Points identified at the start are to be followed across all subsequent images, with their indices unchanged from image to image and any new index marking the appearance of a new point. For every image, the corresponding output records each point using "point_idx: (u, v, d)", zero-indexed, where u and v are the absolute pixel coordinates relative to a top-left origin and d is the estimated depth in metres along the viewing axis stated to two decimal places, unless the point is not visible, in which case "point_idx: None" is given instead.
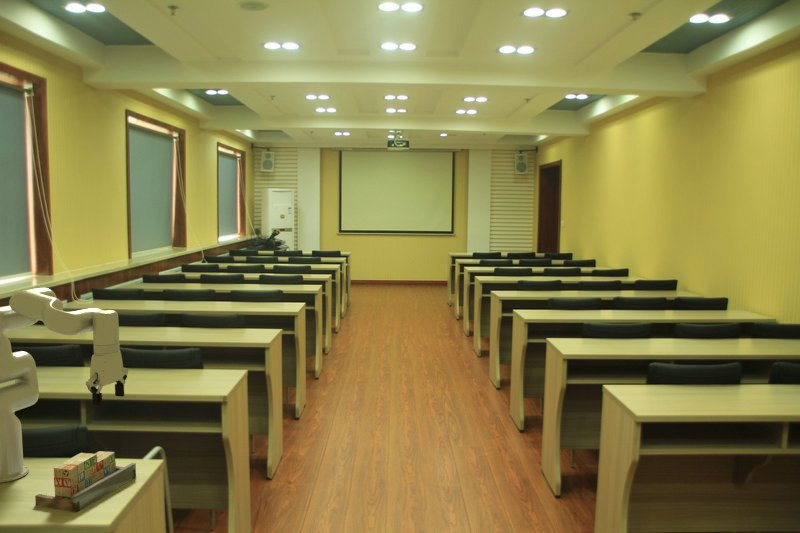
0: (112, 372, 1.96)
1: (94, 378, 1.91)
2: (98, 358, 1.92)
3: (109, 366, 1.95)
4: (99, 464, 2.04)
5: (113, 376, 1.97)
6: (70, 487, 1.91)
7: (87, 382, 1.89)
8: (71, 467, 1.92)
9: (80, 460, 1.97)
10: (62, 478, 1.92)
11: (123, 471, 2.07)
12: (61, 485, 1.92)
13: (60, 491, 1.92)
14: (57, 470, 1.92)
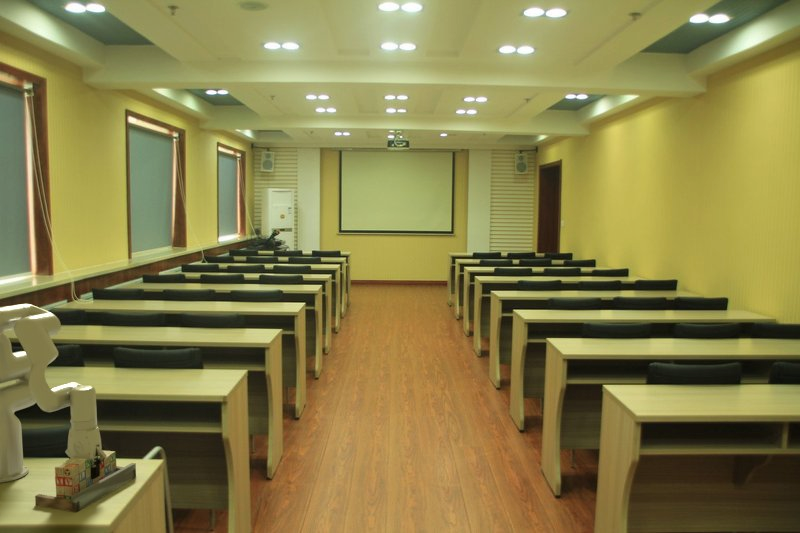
0: None
1: None
2: (97, 430, 2.00)
3: None
4: None
5: None
6: (71, 486, 1.92)
7: (104, 456, 1.99)
8: (72, 466, 1.93)
9: (81, 459, 1.98)
10: (64, 477, 1.92)
11: (123, 471, 2.07)
12: (62, 484, 1.92)
13: (61, 490, 1.93)
14: (58, 469, 1.92)
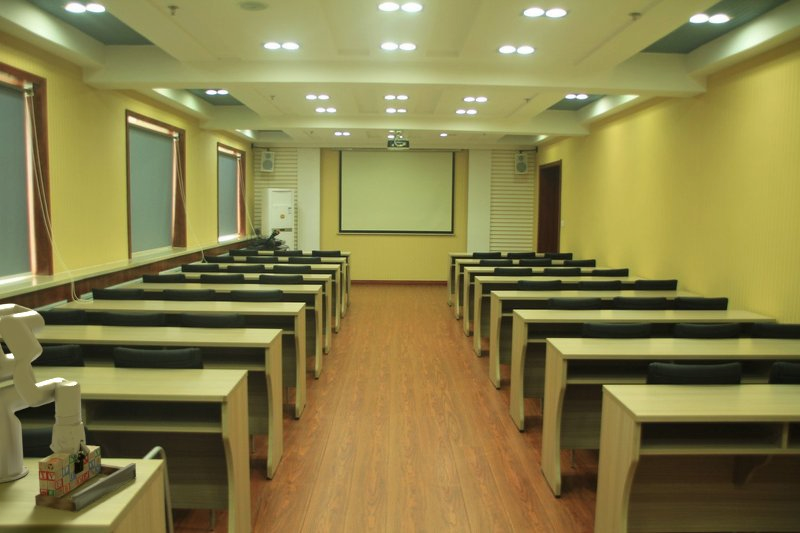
0: None
1: None
2: (81, 425, 2.02)
3: None
4: None
5: None
6: (54, 480, 1.94)
7: (88, 451, 2.01)
8: (56, 461, 1.95)
9: (65, 454, 2.00)
10: (47, 471, 1.94)
11: (123, 471, 2.07)
12: (46, 478, 1.94)
13: (45, 484, 1.94)
14: (42, 463, 1.94)
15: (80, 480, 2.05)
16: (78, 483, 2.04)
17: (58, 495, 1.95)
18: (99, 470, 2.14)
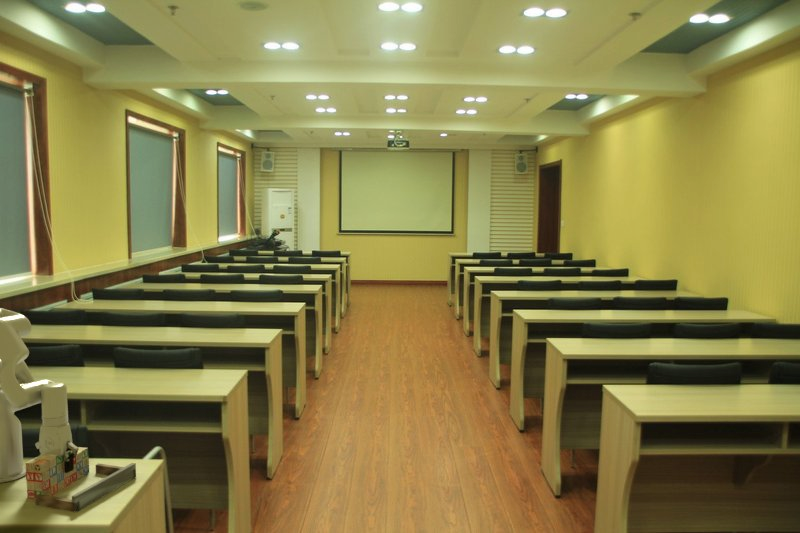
0: None
1: None
2: (67, 426, 2.04)
3: None
4: None
5: None
6: (42, 481, 1.95)
7: (76, 448, 2.03)
8: (43, 462, 1.96)
9: (52, 455, 2.01)
10: (34, 472, 1.96)
11: (123, 471, 2.07)
12: (33, 479, 1.96)
13: (32, 485, 1.96)
14: (29, 465, 1.96)
15: (68, 481, 2.07)
16: (66, 484, 2.06)
17: None
18: (87, 471, 2.16)
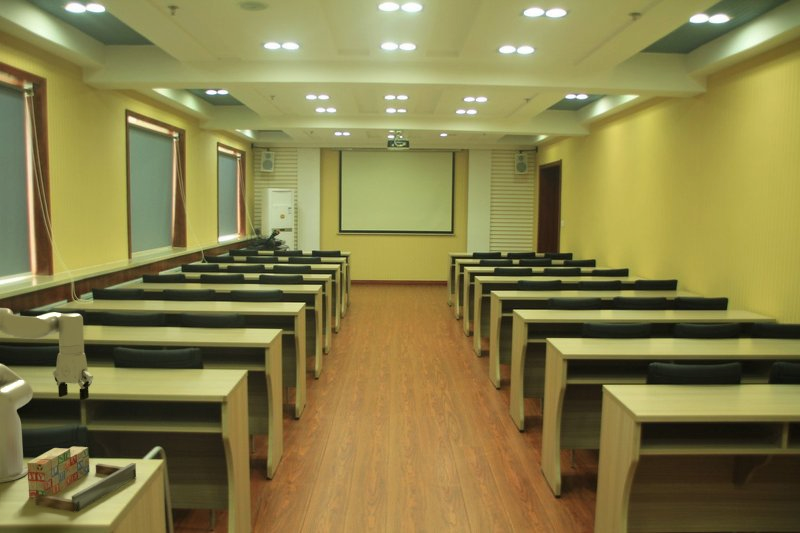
0: None
1: None
2: (83, 355, 2.11)
3: None
4: (72, 459, 2.09)
5: None
6: (44, 481, 1.96)
7: (91, 376, 2.09)
8: (45, 461, 1.97)
9: (54, 455, 2.02)
10: (36, 472, 1.96)
11: (123, 471, 2.07)
12: (35, 479, 1.96)
13: (34, 485, 1.96)
14: (31, 465, 1.96)
15: (69, 480, 2.07)
16: (67, 483, 2.06)
17: (48, 495, 1.97)
18: (87, 471, 2.16)
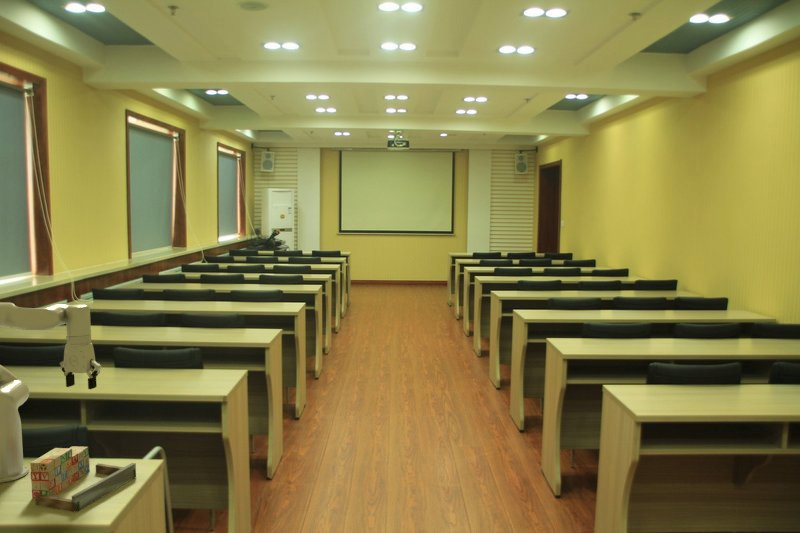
0: None
1: None
2: (91, 345, 2.14)
3: None
4: (74, 458, 2.09)
5: None
6: (48, 481, 1.96)
7: (99, 366, 2.13)
8: (48, 461, 1.97)
9: (56, 454, 2.02)
10: (40, 472, 1.96)
11: (123, 471, 2.07)
12: (38, 479, 1.96)
13: (37, 485, 1.96)
14: (34, 464, 1.96)
15: (71, 480, 2.07)
16: (69, 483, 2.06)
17: (51, 495, 1.97)
18: (88, 470, 2.17)
